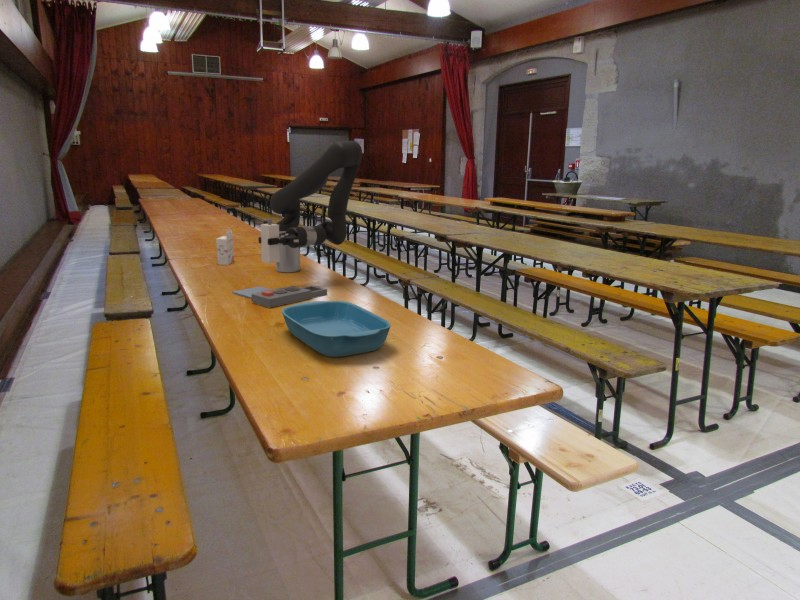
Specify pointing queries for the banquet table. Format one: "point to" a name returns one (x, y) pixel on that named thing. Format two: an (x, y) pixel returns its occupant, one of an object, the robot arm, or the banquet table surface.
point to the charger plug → (267, 251)
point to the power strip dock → (287, 295)
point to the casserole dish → (336, 327)
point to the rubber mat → (250, 291)
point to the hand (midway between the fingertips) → (263, 241)
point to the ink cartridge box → (225, 249)
